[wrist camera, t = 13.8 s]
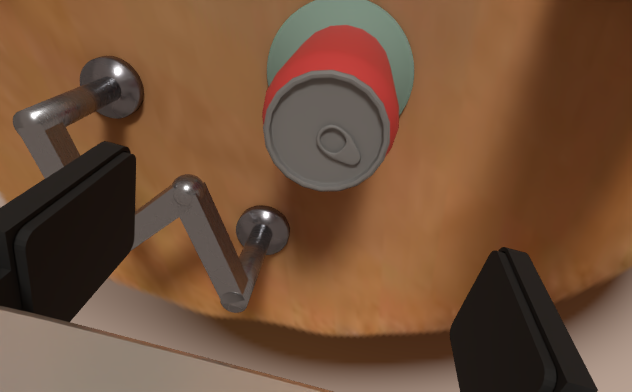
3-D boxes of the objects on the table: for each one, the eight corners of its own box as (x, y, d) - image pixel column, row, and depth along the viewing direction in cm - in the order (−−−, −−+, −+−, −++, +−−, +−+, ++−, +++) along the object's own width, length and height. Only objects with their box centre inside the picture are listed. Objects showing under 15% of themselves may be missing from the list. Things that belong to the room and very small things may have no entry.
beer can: (344, 140, 31) (331, 227, 21) (274, 78, 30) (222, 139, 19) (411, 71, 29) (436, 132, 18) (338, 0, 27) (318, 20, 16)
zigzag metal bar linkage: (319, 110, 31) (300, 161, 23) (284, 255, 37) (260, 335, 29) (85, 49, 31) (-19, 78, 23) (90, 205, 37) (10, 272, 29)
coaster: (435, 17, 27) (436, 18, 27) (387, 157, 32) (387, 160, 32) (283, -23, 27) (281, -23, 27) (258, 123, 32) (256, 126, 32)
